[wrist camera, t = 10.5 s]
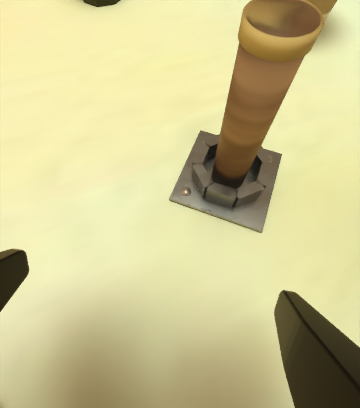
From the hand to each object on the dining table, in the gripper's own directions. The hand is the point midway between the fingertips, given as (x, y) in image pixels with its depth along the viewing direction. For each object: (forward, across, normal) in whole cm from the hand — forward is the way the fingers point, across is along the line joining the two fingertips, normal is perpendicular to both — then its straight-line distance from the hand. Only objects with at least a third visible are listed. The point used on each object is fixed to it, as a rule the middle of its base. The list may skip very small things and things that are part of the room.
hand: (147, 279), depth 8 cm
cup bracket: (+19, -4, 0) cm, 19 cm away
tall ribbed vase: (+18, -4, 0) cm, 19 cm away
